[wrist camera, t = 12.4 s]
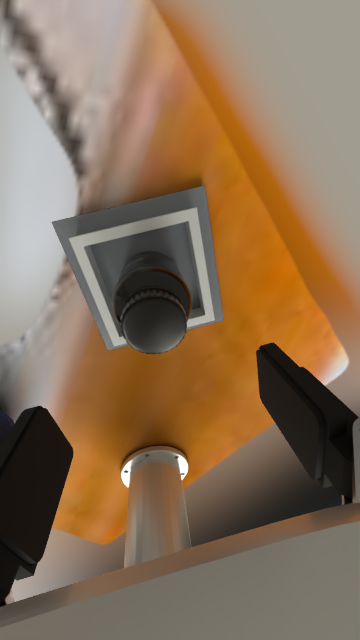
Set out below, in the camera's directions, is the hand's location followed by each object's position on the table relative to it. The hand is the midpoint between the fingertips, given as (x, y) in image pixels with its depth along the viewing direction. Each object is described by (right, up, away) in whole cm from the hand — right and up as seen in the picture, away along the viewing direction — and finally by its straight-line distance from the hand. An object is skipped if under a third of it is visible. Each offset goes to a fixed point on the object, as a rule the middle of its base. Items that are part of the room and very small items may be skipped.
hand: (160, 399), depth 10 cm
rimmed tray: (-3, +9, +17) cm, 20 cm away
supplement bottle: (-3, +8, +17) cm, 19 cm away
